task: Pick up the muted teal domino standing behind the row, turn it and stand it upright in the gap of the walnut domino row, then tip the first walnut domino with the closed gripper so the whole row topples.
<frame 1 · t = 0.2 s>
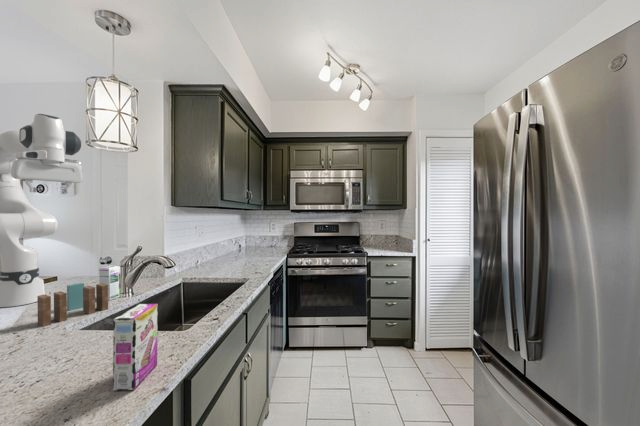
hand: (49, 192, 112), 47 cm above the worktop, tool pointing down, fingers open, 8 cm apart
domino 2: (60, 319, 107), on the worktop
candy bar box: (137, 378, 70), on the worktop
domino 4: (89, 312, 115), on the worktop
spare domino: (75, 308, 119), on the worktop
syrup box: (110, 298, 133), on the worktop
domino 1: (44, 324, 103), on the worktop
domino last: (102, 308, 119), on the worktop
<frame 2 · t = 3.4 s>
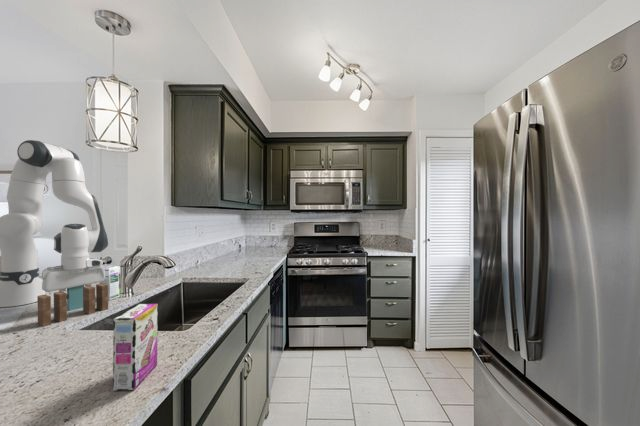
hand: (75, 297, 119), 5 cm above the worktop, tool pointing down, fingers closed on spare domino, 5 cm apart
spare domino: (75, 308, 119), on the worktop, touching gripper
everything else where it was.
when the fingers open (5 cm above the worktop, at t = 9.7 s): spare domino stays where it is, on the worktop.
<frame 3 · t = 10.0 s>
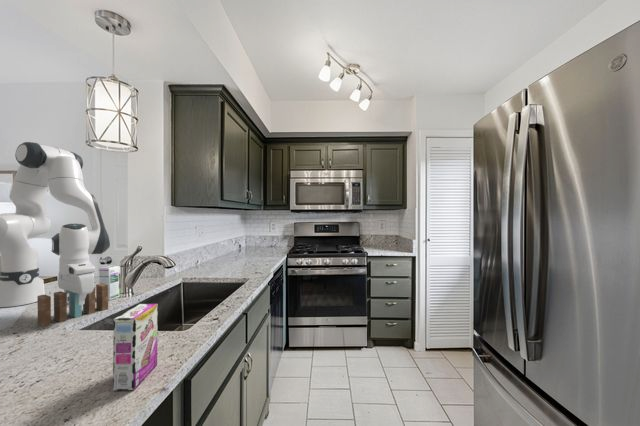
hand: (75, 302, 111), 5 cm above the worktop, tool pointing down, fingers open, 8 cm apart
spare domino: (75, 315, 111), on the worktop
everything else where it was.
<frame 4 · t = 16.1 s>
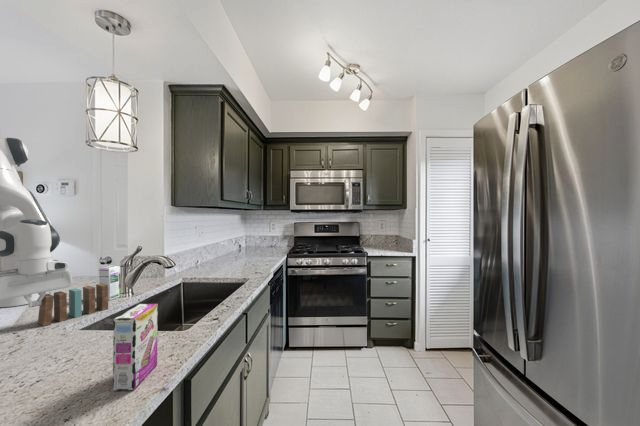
hand: (34, 306, 101), 7 cm above the worktop, tool pointing down, fingers closed
nothing on the worktop moved.
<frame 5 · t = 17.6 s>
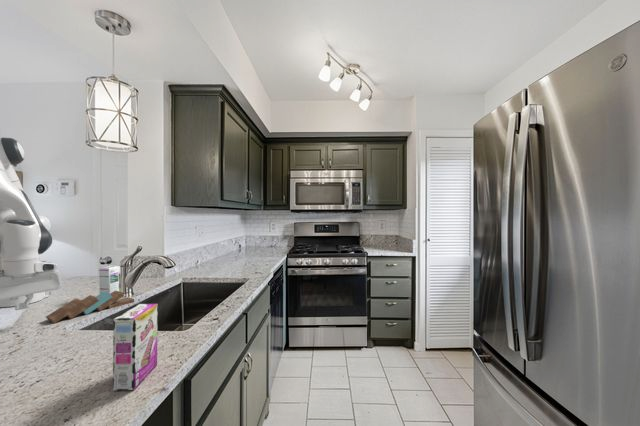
hand: (22, 308, 98), 7 cm above the worktop, tool pointing down, fingers closed
domino 2: (66, 315, 108), point 1 cm above the worktop, tilted 64°, touching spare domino
domino 4: (95, 308, 117), point 1 cm above the worktop, tilted 68°, touching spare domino
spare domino: (82, 311, 113), point 1 cm above the worktop, tilted 64°, touching domino 2, domino 4
domino 1: (49, 320, 104), point 1 cm above the worktop, tilted 64°
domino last: (105, 307, 120), on the worktop, tilted 90°
everything else where it was.
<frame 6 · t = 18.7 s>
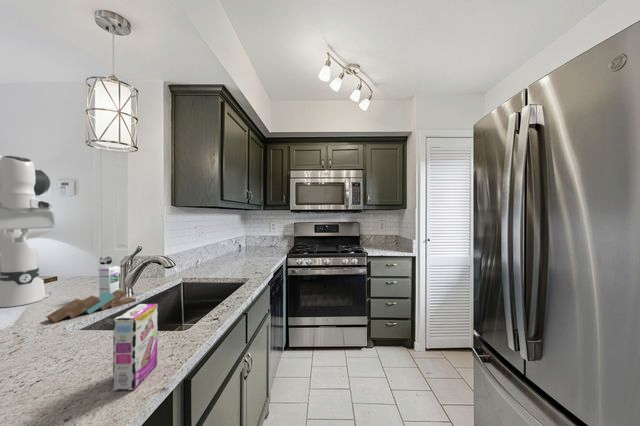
hand: (17, 242, 101), 29 cm above the worktop, tool pointing down, fingers closed
domino 2: (67, 315, 109), point 1 cm above the worktop, tilted 66°, touching domino 1
domino 4: (98, 307, 117), point 1 cm above the worktop, tilted 67°, touching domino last, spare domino
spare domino: (84, 311, 113), point 1 cm above the worktop, tilted 66°, touching domino 4
domino 1: (50, 319, 104), point 1 cm above the worktop, tilted 66°, touching domino 2
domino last: (107, 306, 120), on the worktop, tilted 90°, touching domino 4
everything else where it was.
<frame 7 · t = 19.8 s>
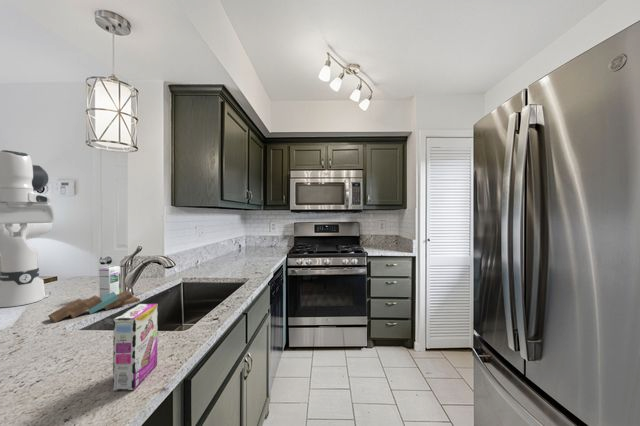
hand: (16, 236, 101), 31 cm above the worktop, tool pointing down, fingers closed
domino 2: (69, 314, 109), point 1 cm above the worktop, tilted 67°
domino 4: (103, 306, 118), point 1 cm above the worktop, tilted 69°, touching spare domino
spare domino: (88, 310, 114), point 1 cm above the worktop, tilted 67°, touching domino 4
domino 1: (51, 319, 105), point 1 cm above the worktop, tilted 67°
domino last: (111, 306, 121), on the worktop, tilted 90°
everything else where it was.
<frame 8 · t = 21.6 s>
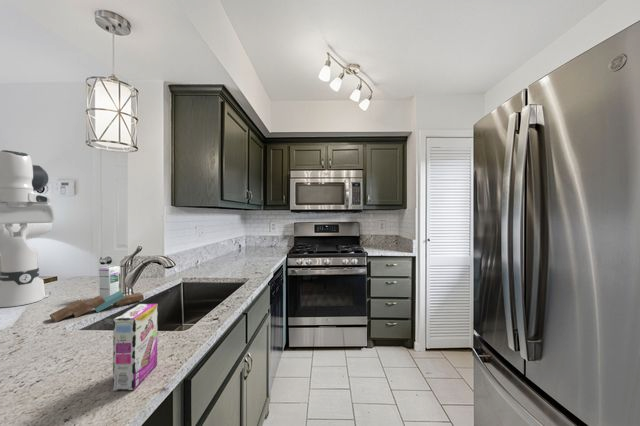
hand: (16, 236, 101), 31 cm above the worktop, tool pointing down, fingers closed
domino 2: (72, 314, 110), point 1 cm above the worktop, tilted 69°, touching domino 1
domino 4: (114, 301, 122), point 2 cm above the worktop, tilted 90°, touching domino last
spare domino: (95, 308, 116), point 1 cm above the worktop, tilted 65°
domino 1: (52, 318, 105), point 1 cm above the worktop, tilted 70°, touching domino 2
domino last: (116, 305, 123), on the worktop, tilted 90°, touching domino 4
everything else where it was.
at the end: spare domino inside the target area (2.1 cm from its centre), point 1.0 cm above the worktop; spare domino tilted 64°; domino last tilted 90° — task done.
